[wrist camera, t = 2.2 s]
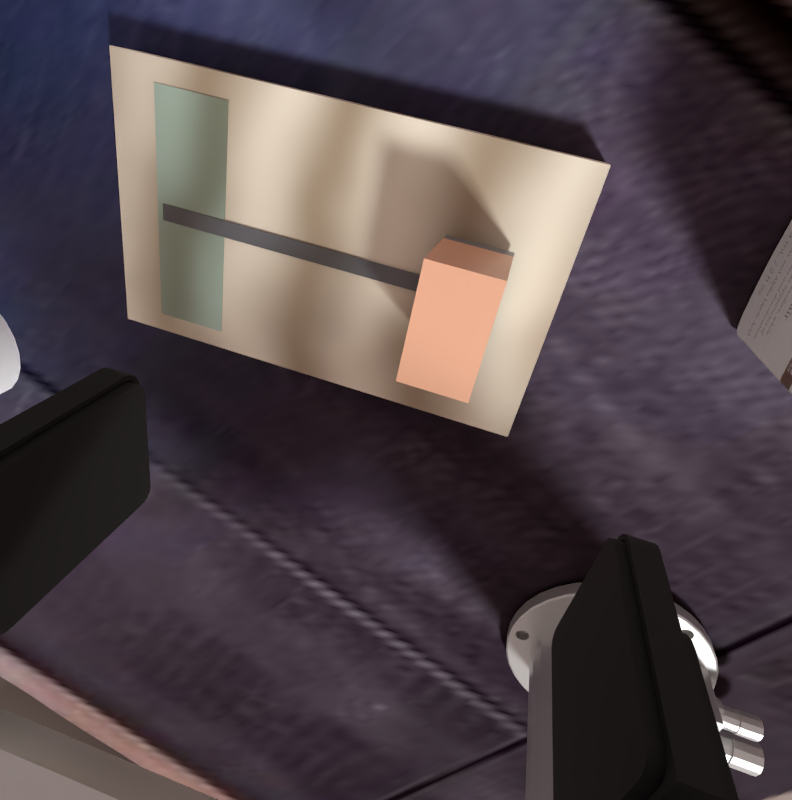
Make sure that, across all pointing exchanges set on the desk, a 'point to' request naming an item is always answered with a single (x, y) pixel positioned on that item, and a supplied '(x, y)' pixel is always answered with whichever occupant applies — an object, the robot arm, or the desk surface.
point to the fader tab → (453, 316)
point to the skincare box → (772, 314)
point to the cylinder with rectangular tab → (8, 358)
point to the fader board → (331, 226)
